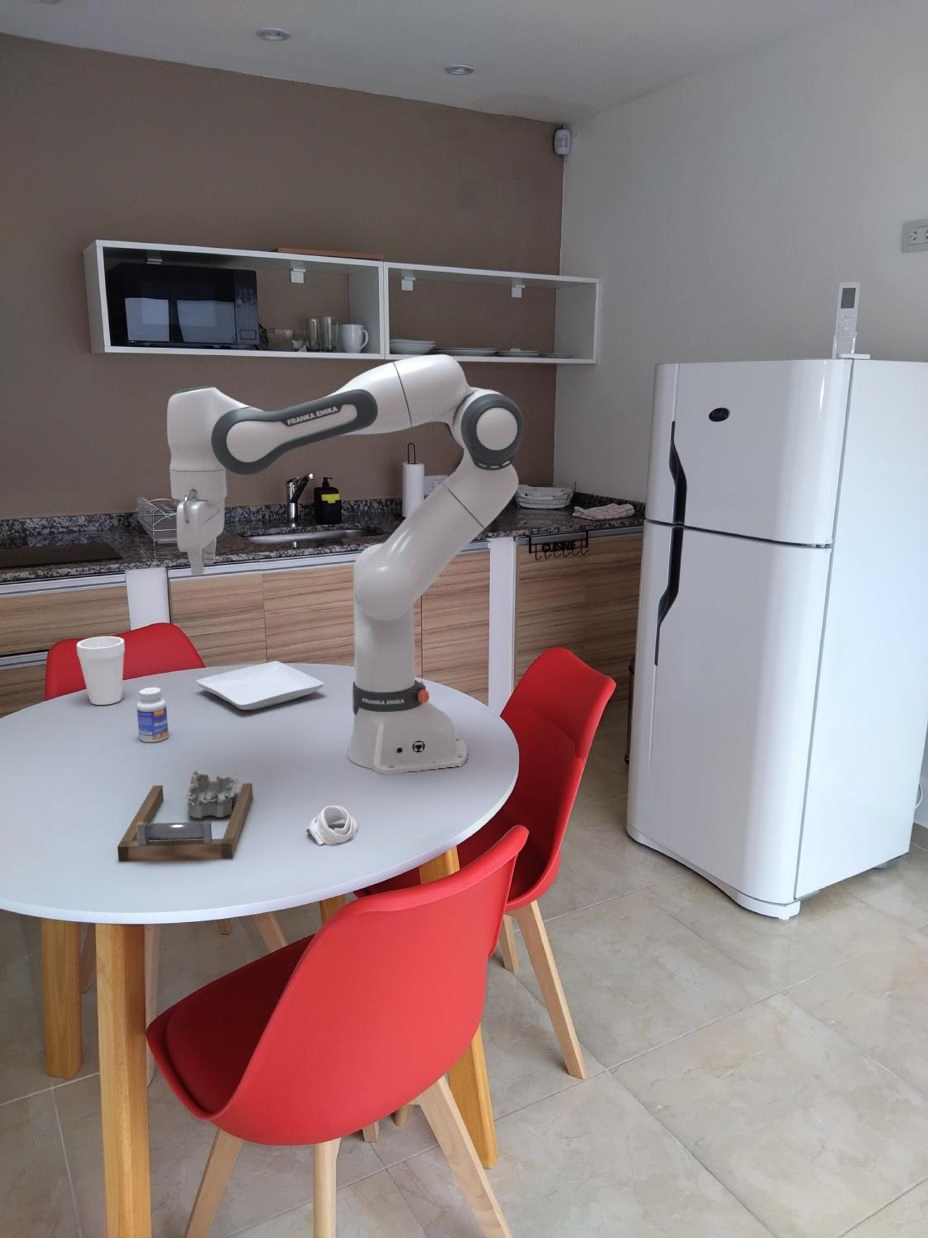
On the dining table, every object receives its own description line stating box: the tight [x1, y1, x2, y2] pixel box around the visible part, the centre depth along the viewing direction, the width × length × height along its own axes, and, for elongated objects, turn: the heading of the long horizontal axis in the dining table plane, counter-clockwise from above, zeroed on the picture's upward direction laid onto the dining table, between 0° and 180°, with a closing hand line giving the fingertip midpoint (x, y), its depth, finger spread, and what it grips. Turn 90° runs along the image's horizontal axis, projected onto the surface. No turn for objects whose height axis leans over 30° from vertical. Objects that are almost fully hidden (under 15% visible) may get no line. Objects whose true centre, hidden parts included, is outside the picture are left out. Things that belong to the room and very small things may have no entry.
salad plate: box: [195, 660, 325, 711], centre depth 198 cm, size 21×21×3 cm
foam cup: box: [76, 635, 126, 706], centre depth 191 cm, size 10×9×13 cm
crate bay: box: [116, 782, 254, 863], centre depth 137 cm, size 16×20×3 cm
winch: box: [136, 820, 213, 846], centre depth 127 cm, size 10×2×3 cm, turn 95°
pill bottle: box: [136, 686, 169, 743], centre depth 171 cm, size 5×5×10 cm
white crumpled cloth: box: [305, 805, 358, 846], centre depth 136 cm, size 8×7×5 cm
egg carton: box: [186, 770, 239, 819], centre depth 144 cm, size 11×8×4 cm
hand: (203, 568), depth 151 cm, fingers open, 8 cm apart
